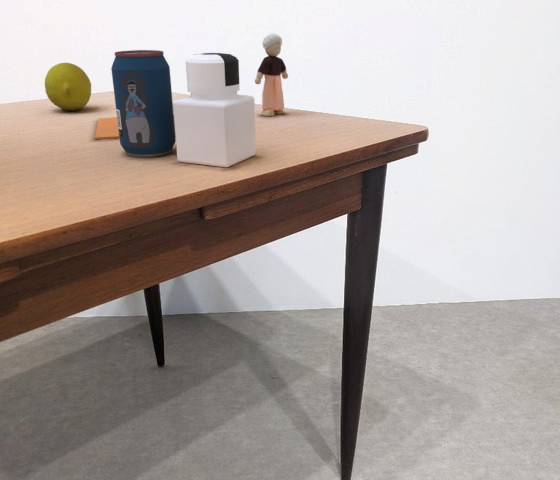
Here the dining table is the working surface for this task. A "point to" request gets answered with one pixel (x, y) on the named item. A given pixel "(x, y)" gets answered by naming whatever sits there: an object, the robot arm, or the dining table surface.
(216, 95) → the medicine bottle
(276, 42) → the grandmother figurine
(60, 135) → the dining table surface
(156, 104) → the soda can
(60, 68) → the lemon
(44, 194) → the dining table surface
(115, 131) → the orange cloth
